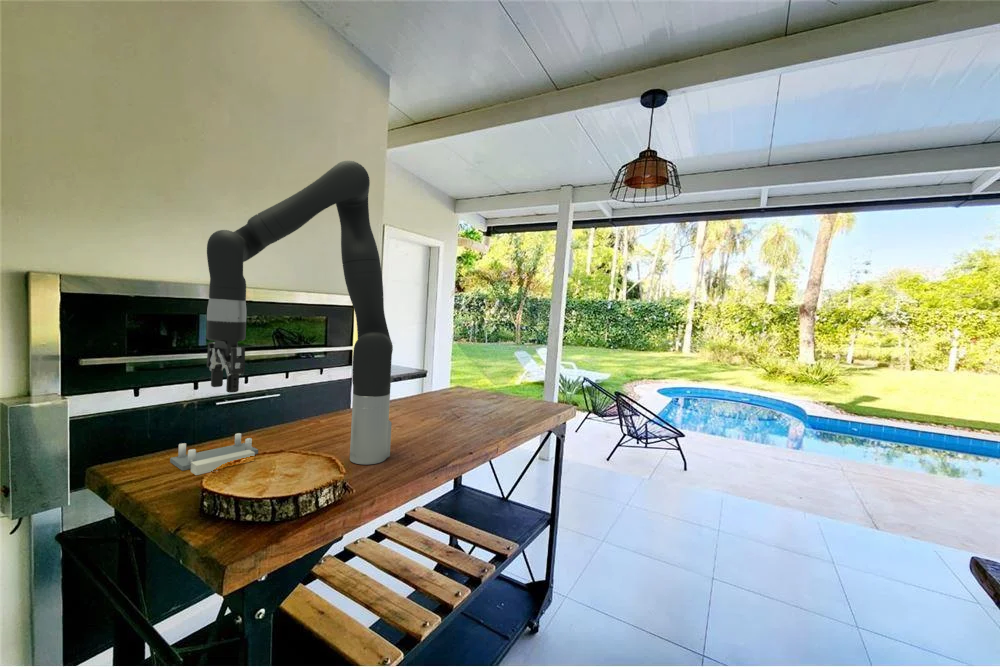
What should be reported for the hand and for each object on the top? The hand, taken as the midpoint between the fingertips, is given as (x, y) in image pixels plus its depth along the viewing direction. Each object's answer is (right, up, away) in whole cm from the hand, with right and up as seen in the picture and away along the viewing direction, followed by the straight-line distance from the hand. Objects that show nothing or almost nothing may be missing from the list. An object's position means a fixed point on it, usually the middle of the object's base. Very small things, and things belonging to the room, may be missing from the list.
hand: (224, 389), depth 93 cm
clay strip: (-1, -19, +1) cm, 19 cm away
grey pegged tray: (-6, -18, +6) cm, 19 cm away
